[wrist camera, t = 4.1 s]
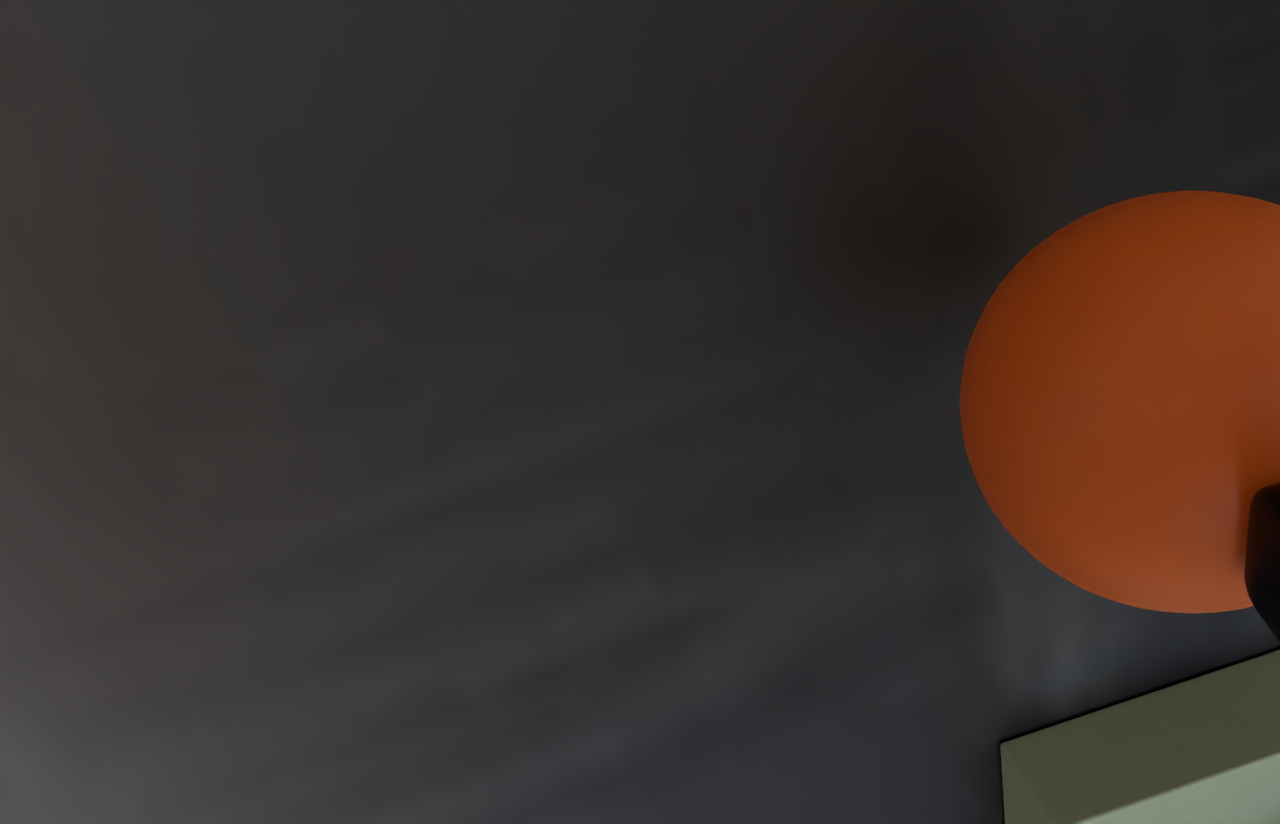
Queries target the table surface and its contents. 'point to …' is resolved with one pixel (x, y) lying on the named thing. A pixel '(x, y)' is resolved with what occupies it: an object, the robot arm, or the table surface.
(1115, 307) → the switch lever
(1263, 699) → the plug block
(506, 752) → the table surface
